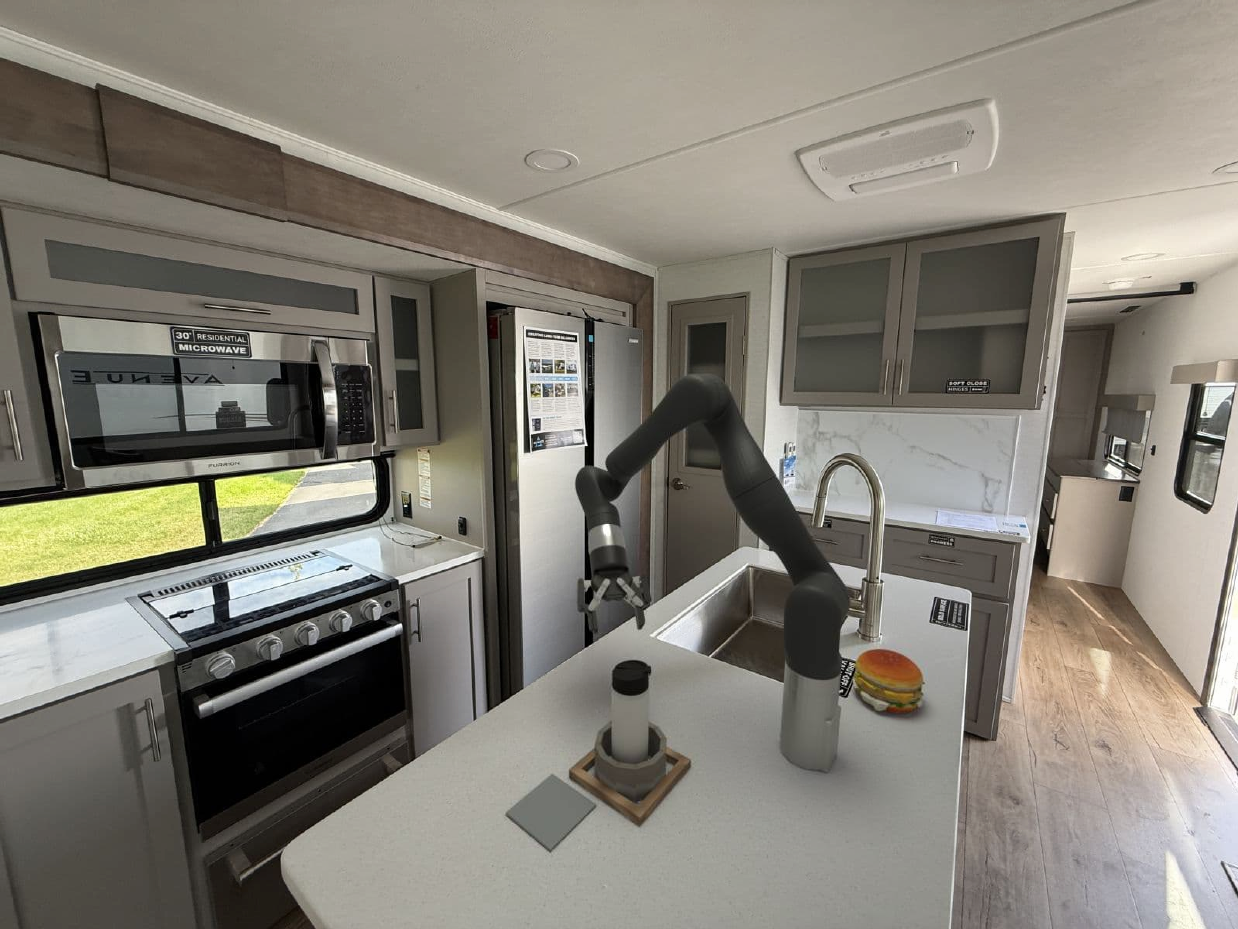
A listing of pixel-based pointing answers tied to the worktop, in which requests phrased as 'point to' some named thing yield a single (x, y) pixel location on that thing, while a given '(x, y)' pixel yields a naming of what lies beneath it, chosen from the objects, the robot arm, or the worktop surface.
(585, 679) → the worktop surface
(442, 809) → the worktop surface
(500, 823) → the worktop surface
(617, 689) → the travel mug
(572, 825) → the coaster
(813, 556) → the robot arm
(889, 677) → the burger
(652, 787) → the ring holder
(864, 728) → the worktop surface
